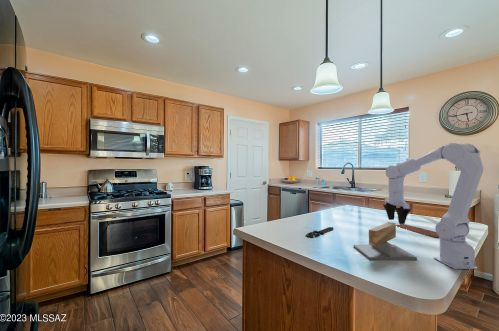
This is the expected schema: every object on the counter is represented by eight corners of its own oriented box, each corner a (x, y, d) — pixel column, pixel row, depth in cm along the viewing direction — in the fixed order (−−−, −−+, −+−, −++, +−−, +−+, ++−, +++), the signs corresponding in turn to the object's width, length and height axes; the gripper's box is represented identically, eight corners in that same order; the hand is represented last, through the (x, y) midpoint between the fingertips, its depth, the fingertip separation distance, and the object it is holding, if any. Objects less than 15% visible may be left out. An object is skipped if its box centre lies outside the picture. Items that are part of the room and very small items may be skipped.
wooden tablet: (452, 238, 115) (452, 234, 115) (437, 240, 112) (437, 236, 112) (404, 224, 141) (404, 222, 141) (391, 226, 138) (391, 223, 138)
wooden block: (395, 237, 99) (395, 223, 99) (376, 246, 88) (376, 231, 88) (388, 235, 101) (388, 222, 101) (369, 244, 91) (368, 229, 91)
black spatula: (330, 228, 135) (330, 225, 135) (341, 230, 129) (340, 227, 129) (302, 236, 120) (302, 233, 120) (312, 239, 114) (312, 236, 114)
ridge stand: (416, 259, 88) (416, 246, 88) (369, 259, 88) (369, 246, 88) (394, 246, 102) (393, 235, 102) (353, 247, 102) (353, 235, 102)
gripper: (416, 193, 98) (416, 225, 98) (394, 190, 112) (395, 217, 112) (399, 194, 98) (399, 225, 98) (380, 190, 112) (380, 218, 112)
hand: (396, 221), depth 105 cm, fingers open, 7 cm apart
